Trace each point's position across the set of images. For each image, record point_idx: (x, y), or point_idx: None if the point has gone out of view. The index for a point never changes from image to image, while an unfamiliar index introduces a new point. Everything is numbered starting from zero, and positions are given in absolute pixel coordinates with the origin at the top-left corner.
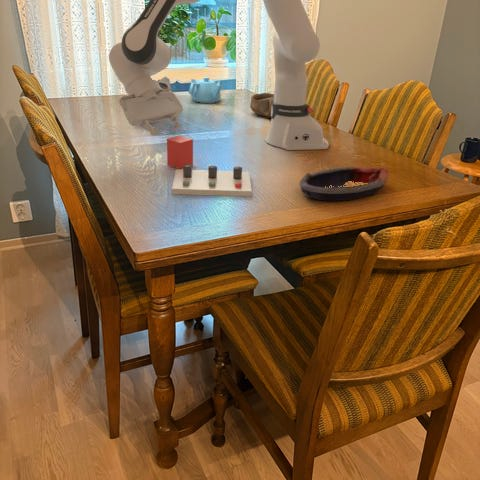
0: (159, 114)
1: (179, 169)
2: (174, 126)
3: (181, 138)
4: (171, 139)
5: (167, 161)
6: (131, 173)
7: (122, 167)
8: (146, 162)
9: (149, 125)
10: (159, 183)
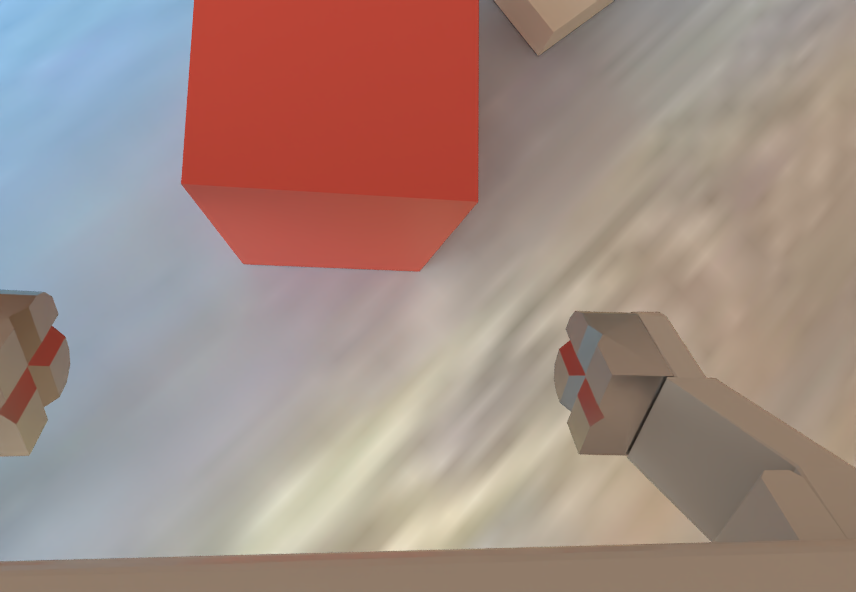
0: (409, 572)
1: (537, 10)
2: (34, 379)
3: (298, 58)
4: (451, 131)
5: (423, 264)
6: (776, 333)
7: None
8: (513, 456)
9: (773, 421)
10: (753, 34)
